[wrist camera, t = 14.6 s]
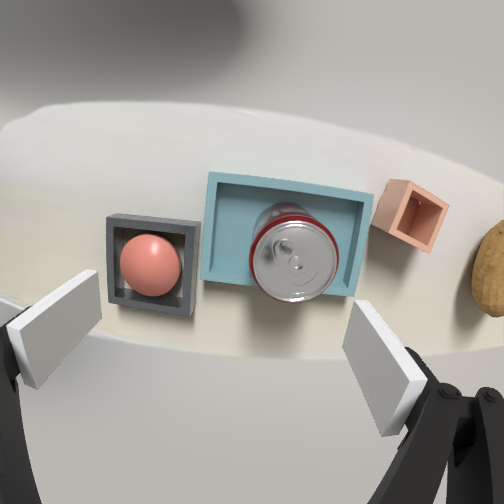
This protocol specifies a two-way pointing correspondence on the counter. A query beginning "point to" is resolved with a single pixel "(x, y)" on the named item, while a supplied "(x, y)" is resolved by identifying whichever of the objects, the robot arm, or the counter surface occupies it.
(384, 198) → the cup
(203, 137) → the counter surface
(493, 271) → the potato
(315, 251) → the soda can
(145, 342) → the counter surface
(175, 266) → the salmon round part
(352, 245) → the trough
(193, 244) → the cradle
